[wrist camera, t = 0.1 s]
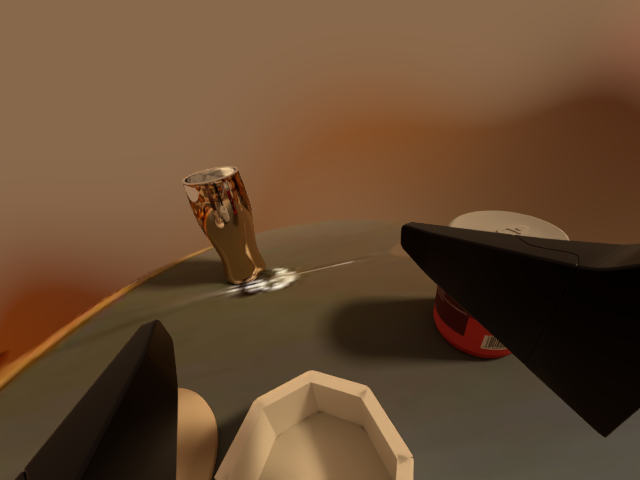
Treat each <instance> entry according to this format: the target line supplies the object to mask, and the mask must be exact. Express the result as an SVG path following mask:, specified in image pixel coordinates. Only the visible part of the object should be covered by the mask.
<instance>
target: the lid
mask: <svg viewBox="0 0 640 480" xmlns="http://www.w3.org/2000/svg"><path fill="white" fill-rule="evenodd" d="M217 452H218V430H217V424H216V420H215V417H214V414H213V412H212V410H211V409H210V407H209V406H208V404H207V403H206V402H205V401H204V399H203V398H202V397H201V396H199V395H198V394H197V393H195V392H193V391H191V390H188V389H184V388H178V429H177V470H176V480H212V477H213V474H214V470H215V465H216V460H217Z"/></svg>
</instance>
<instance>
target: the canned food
mask: <svg viewBox="0 0 640 480" xmlns="http://www.w3.org/2000/svg"><path fill="white" fill-rule="evenodd" d="M449 227H456V228H464V229H472V230H480V231H489V232H497V233H505V234H512V235H521V236H530V237H539V238H548V239H559V240H569V238H568V236H567V235H566V234H565V233H564V232H563V231H562V230H560V229H559V228H557V227H556V226H554V225H552V224H550V223H548V222H546V221H543V220H541V219H538V218H535V217H532V216H528V215H524V214H519V213H514V212H506V211H478V212H472V213H467V214H464V215H461V216H459V217H457V218H455V219H454V220H453V221H452V222H451V223H450V224H449ZM433 314H434V320H435V323H436V326H437V329H438V330H439V332H440V334H441V335H442V336H443V337H444V338H445V340H446V341H448V342H449V343H450V344H451V345H453V346H454V347H456V348H457V349H459V350H461V351H463V352H465V353H467V354H470V355H473V356H477V357H482V358H500V357H505V356H507V355H509V354H511V352H510V351H509V350H508V349H507V348H506V347H505V346H504V345H503V344H501V343H500V342H499V341H498V340H497V339H496V338H495V337H494V336H493V335H492V334H491V333H489V332H488V331H487V330H486V329H485V328H484V327H483V326H482V325H481V324H480V323H479V322H477V321H476V320H475V319H474V318H473V317H472V316H471V315H470V314H469V313H468V312H467V311H466V310H464V309H463V308H462V307H461V306H460V305H459V304H458V303H457V302H456V301H455V300H454V299H452V298H451V297H450V296H449V295H448V294H447V293H446V292H445V291H444V290H443V289H442V288H441V287H439V286H437V292H436V298H435V304H434V310H433Z"/></svg>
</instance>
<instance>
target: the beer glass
mask: <svg viewBox="0 0 640 480" xmlns="http://www.w3.org/2000/svg"><path fill="white" fill-rule="evenodd" d="M182 183H183V186H184V188H185V191H186V194H187V197H188V200H189V203H190V206H191V209H192V211H193V214H194V216H195V217H196V220H197V222H198V224H199V226H200V227H201V229H202V230H203V232H204V234H205V235H206V237H207V238H208V240H209V241H210V243H211V244H212V245H213V247H214V248H215V250H216V251H217V253H218V254H219V256H220V258H221V261H222V264H223V268H224V274H225V278H226V280H227V281H228V282H229V283H232V284H245V283H249V282H251V281H253V280H255V279H257V278H258V277H260V276H261V275H262V274H263V272H264V271H265V268H266V264H265V262H264V260H263V258H262V256H261V254H260V253H259V250H258V248H257V244H256V239H255V230H254V221H253V214H252V208H251V204H250V201H249V197H248V194H247V191H246V188H245V186H244V183H243V181H242V178H241V176H240V173H239V170H238V168H237V167H234V166H222V167H215V168H210V169H206V170H202V171H199V172H196V173H193V174H191V175H188V176H187V177H185V178H184V179H183V180H182Z"/></svg>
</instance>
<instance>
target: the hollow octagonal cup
mask: <svg viewBox="0 0 640 480" xmlns="http://www.w3.org/2000/svg"><path fill="white" fill-rule="evenodd" d="M412 457H413V456H412V454H411V452H410V451H409V449H408V448H407V446H406V445H405V443H404V441H403V440H402V438H401V437H400V435H399V434H398V432H397V430H396V429H395V427H394V426H393V424H392V423H391V421H390V420H389V418H388V416H387V415H386V413H385V412H384V410H383V409H382V407H381V405H380V404H379V402H378V401H377V399H376V398H375V396H374V394H373V393H372V391H371V390H370V388H369V387H368V388H367V386H366V385H362V384H359V383H355V382H352V381H348V380H345V379H341V378H338V377H334V376H331V375H327V374H324V373H320V372H317V371H313V370H312V371H311V372H310V371H308V372H306V373H304V374H302V375H300V376H298V377H296V378H294V379H293V380H291V381H289V382H287V383H285V384H283V385H281V386H279V387H278V388H276V389H274V390H272V391H270V392H268V393H266V394H264V395H262V396H261V397H259V398H257V399H256V401H254V402H253V404H252V406H251V408H250V410H249V412H248V413H247V415H246V417H245V419H244V421H243V423H242V425H241V427H240V429H239V431H238V433H237V435H236V437H235V438H234V440H233V442H232V444H231V446H230V448H229V450H228V452H227V454H226V456H225V458H224V460H223V462H222V463H221V465H220V467H219V469H218V471H217V473H216V475H215V477H214V478H215V479H216V480H413V465H414V459H412Z"/></svg>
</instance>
